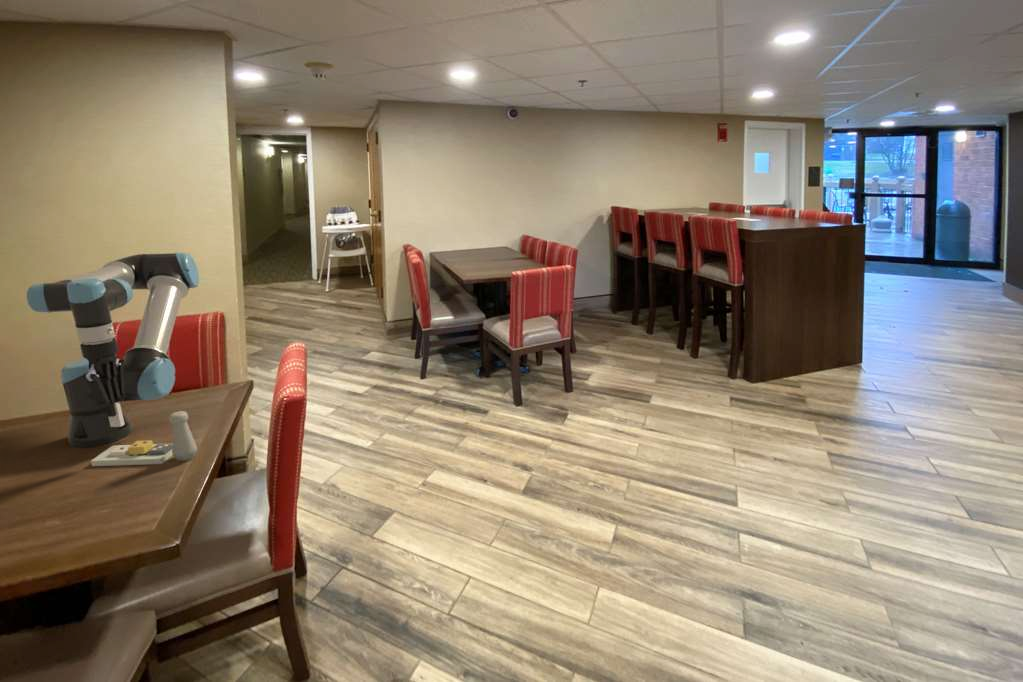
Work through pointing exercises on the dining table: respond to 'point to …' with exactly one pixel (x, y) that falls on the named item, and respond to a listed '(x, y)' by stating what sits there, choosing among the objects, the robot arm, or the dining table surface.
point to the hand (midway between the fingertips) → (117, 425)
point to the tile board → (128, 458)
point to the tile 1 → (120, 451)
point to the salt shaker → (182, 437)
